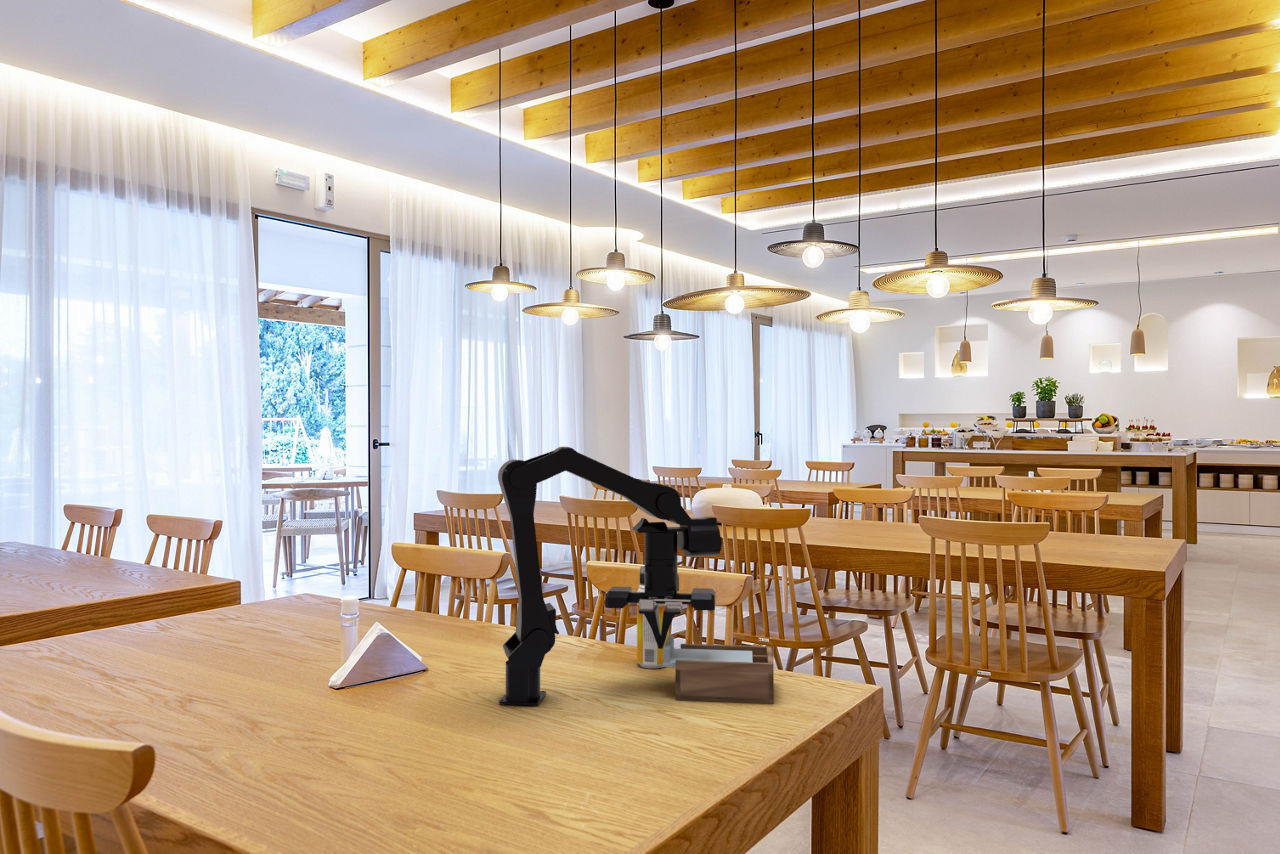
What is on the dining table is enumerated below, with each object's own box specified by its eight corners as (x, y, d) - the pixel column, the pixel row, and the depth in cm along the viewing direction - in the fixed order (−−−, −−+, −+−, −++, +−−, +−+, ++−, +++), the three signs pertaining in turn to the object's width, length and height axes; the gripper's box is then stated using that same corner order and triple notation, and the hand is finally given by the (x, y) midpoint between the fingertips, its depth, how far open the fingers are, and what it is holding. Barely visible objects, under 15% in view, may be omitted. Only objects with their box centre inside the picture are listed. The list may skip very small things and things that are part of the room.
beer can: (669, 661, 164) (669, 583, 164) (667, 669, 158) (667, 589, 158) (638, 660, 164) (638, 583, 165) (635, 668, 158) (635, 588, 158)
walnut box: (773, 703, 137) (773, 664, 138) (675, 700, 139) (675, 661, 140) (771, 682, 149) (771, 646, 149) (680, 679, 151) (680, 643, 151)
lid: (752, 669, 139) (752, 652, 139) (663, 666, 141) (663, 649, 141) (752, 654, 149) (752, 638, 149) (668, 652, 150) (668, 635, 150)
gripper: (716, 552, 153) (716, 638, 153) (614, 550, 155) (614, 635, 155) (714, 561, 142) (714, 654, 142) (604, 559, 144) (604, 651, 144)
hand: (660, 648), depth 146 cm, fingers closed
